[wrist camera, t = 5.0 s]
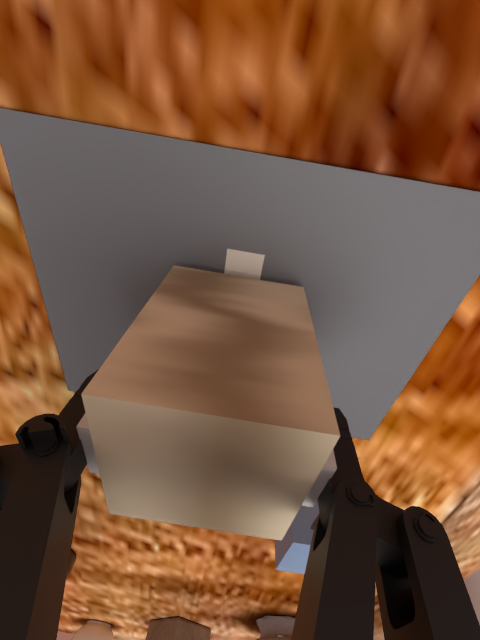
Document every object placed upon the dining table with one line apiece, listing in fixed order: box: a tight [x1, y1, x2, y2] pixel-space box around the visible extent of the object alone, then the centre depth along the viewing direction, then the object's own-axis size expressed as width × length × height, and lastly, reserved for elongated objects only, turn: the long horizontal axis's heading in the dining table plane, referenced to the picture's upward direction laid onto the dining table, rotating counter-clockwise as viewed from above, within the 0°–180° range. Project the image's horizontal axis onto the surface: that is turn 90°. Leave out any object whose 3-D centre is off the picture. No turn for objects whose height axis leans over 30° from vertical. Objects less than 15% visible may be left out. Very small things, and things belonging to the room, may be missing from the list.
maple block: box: [81, 265, 340, 541], centre depth 13 cm, size 7×7×9 cm
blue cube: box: [275, 501, 319, 574], centre depth 25 cm, size 6×6×6 cm
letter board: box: [0, 108, 480, 440], centre depth 18 cm, size 24×18×1 cm
